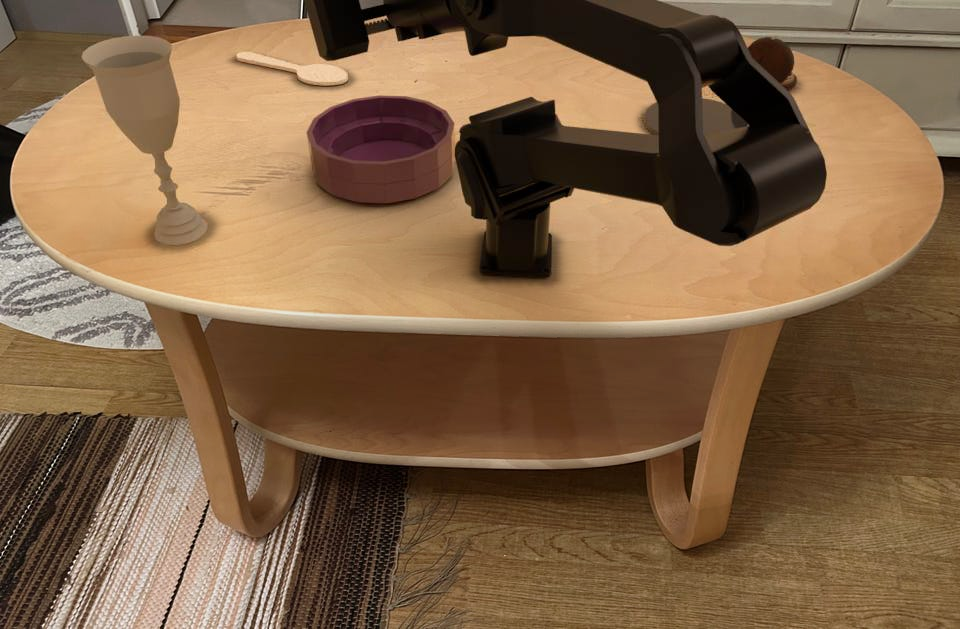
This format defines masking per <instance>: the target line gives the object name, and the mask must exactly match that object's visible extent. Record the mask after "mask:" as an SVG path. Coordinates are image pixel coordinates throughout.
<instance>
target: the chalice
mask: <svg viewBox="0 0 960 629" xmlns="http://www.w3.org/2000/svg"><path fill="white" fill-rule="evenodd" d="M172 50H173V45H172V43H171V42H170V41H169V40H166V39H165V38H162V37H157V36H152V35H127V36H126V35H124V36H119V37H114V38H109V39H105V40H102V41H98V42H97V43H95V44H92V45H90V46H88V47H87V48H86V49H85V50H84V51H83V52H82V55H81V59H82V60H83V62H84V63H85V64H86V65H87V67H89V68H90V69H91V70H92V71H93V75H94V79H95V80H96V84H97V87H98V90H99V93H100V95H101V98H102V101H103V104H104V107H105V111H106V112H107V114H108V115H109V117H110V118H111V120H112V121H113V122H114V123H115V125H116V127H118V129H119V130H120V131H121V132H122V134H123V135H124V136H125V137H126V138H127V139H128V140H129V141H130V142H131V143H132V144H133V145H134V146H135V147H136V148H137V150H139V151H140V152H141V153H143V154H148V155H151V156H152V157H153V159H154V169H153V173H154V174H156V175H157V176H158V178H159V179H160V185H159V186H158V188H157V189H158V191H159V192H161V193H162V194H163V195H164V197H165V199H166V204H165V205H164V206H163V207H162V208H161V209H160V210H159V212H157V215H156V221H155V227H154V228H155V229H154V233H153V237H154V239H155V240H156V241H157V242H159V243H160V244H164V245H167V246H178V245H179V246H181V245H186V244H189V243H193V242H194V241H197V240H199V239H200V238H201V237H203V236H204V235H205V234H206V233H207V231H208V228H209V227H208V226H209V224H208V223H207V221H206V220H205V219H203V217H202V216H201V214H200V213H199V212H198V211H197V209H196V207H193V206H192V205H190V204H189V203H186V202H183V201H182V202H181V201H179V200H178V198H177V190H178V188H179V184H178V183H176V182H174V181H173V179H172V177H171V176H172V175H171V174H172V171H173V167H172V166H171V165H170V164H168V161H167V159H166V156H165V152H167V151H170V149H171V148H172V147H173V143H174V140H175V136H176V132H177V128H178V125H179V117H180V116H179V115H180V105H181V100H180V95H179V91H178V88H177V84H176V80H175V77H174V73H173V70H172V66H171V61H170V60H171V55H172V52H173V51H172Z"/></svg>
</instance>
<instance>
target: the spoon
mask: <svg viewBox="0 0 960 629" xmlns="http://www.w3.org/2000/svg"><path fill="white" fill-rule="evenodd" d="M235 57H236V61H238V62H243V63H247V64H253V65H256V66H262V67H267V68H272V69H277V70H280V71H287V72H290V73H296V76H297V79H298V80H299V81H300V82H302V83H305V84H308V85H315V86H336V85H342V84H345V83H347V82H348V80H349V74H348V72H347V71H346V70H345V69H343V68H341V67H339V66H337V65H332V64H328V63H313V64H308V65H300V64H296V63H294V62H291V61H290V62H289V61H286V60H283V59H278V58H276V57H271V56H267V55H265V54H264V55H263V54H261V53H260V54H259V53H258V52H255V51H253V52H252V51H239V52H238V53H237V54H236V55H235Z"/></svg>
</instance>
